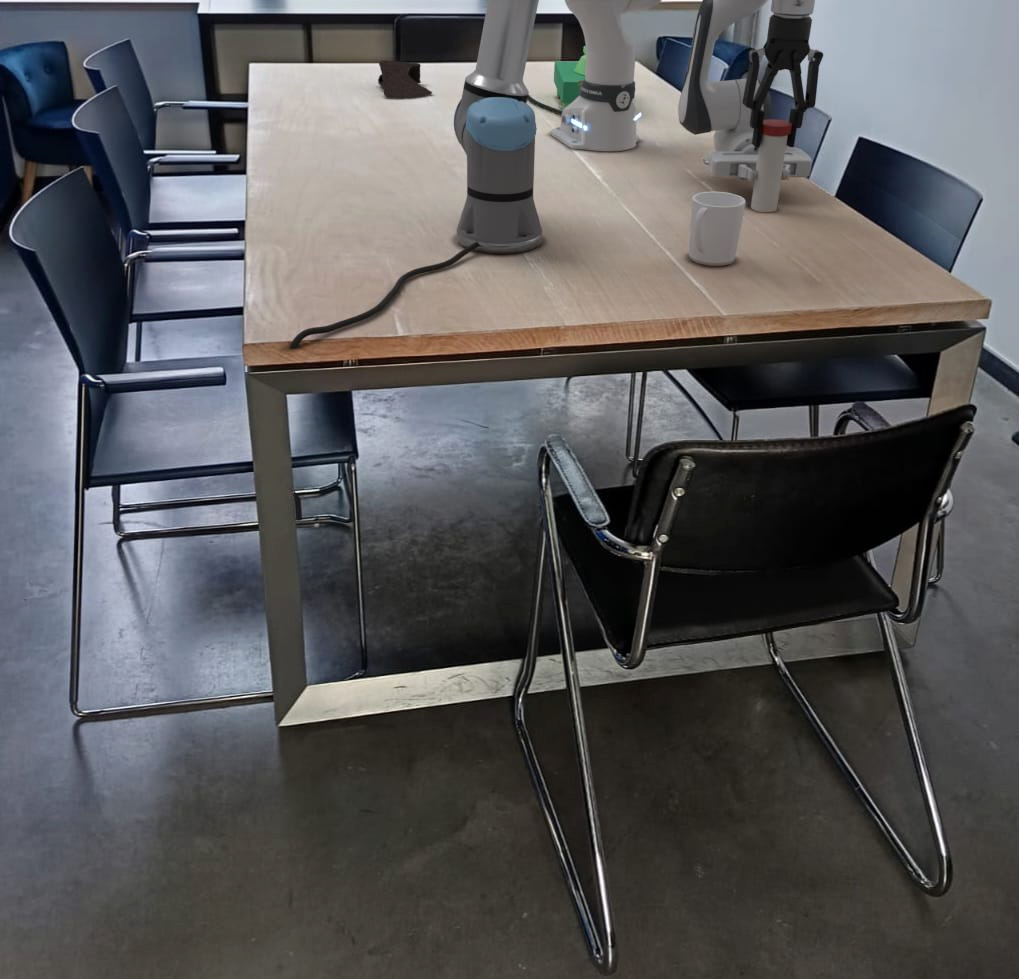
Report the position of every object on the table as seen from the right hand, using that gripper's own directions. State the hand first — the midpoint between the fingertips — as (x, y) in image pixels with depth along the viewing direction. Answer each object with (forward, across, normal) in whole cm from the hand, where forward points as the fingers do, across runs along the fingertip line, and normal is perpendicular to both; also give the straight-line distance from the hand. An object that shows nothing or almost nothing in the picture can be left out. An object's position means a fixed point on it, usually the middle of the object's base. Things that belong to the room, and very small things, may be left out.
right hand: (770, 175), depth 211 cm
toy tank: (-94, -20, +6) cm, 96 cm away
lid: (-1, 0, -9) cm, 9 cm away
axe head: (-109, -69, +6) cm, 129 cm away
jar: (-1, 0, +7) cm, 7 cm away
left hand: (-1, 0, -6) cm, 6 cm away
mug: (+28, -19, +7) cm, 35 cm away
